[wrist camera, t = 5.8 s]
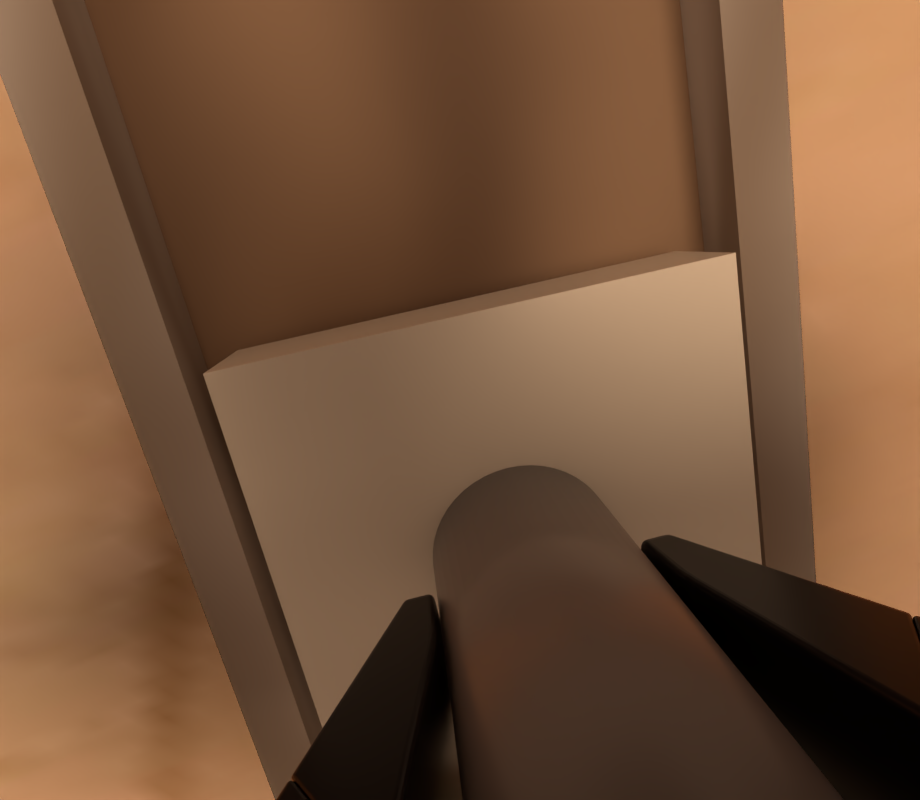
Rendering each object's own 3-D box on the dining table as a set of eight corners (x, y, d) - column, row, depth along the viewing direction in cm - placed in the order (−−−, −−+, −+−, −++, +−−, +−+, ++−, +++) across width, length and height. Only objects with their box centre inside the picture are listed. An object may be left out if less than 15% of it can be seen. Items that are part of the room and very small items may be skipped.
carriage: (675, 250, 11) (1354, 266, 3) (716, 623, 13) (1184, 1171, 5) (237, 350, 10) (-189, 640, 3) (354, 716, 13) (294, 1455, 5)
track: (677, -337, 10) (775, -534, 8) (780, 846, 17) (848, 951, 15) (-39, -210, 10) (-200, -378, 7) (375, 959, 17) (371, 1090, 14)
